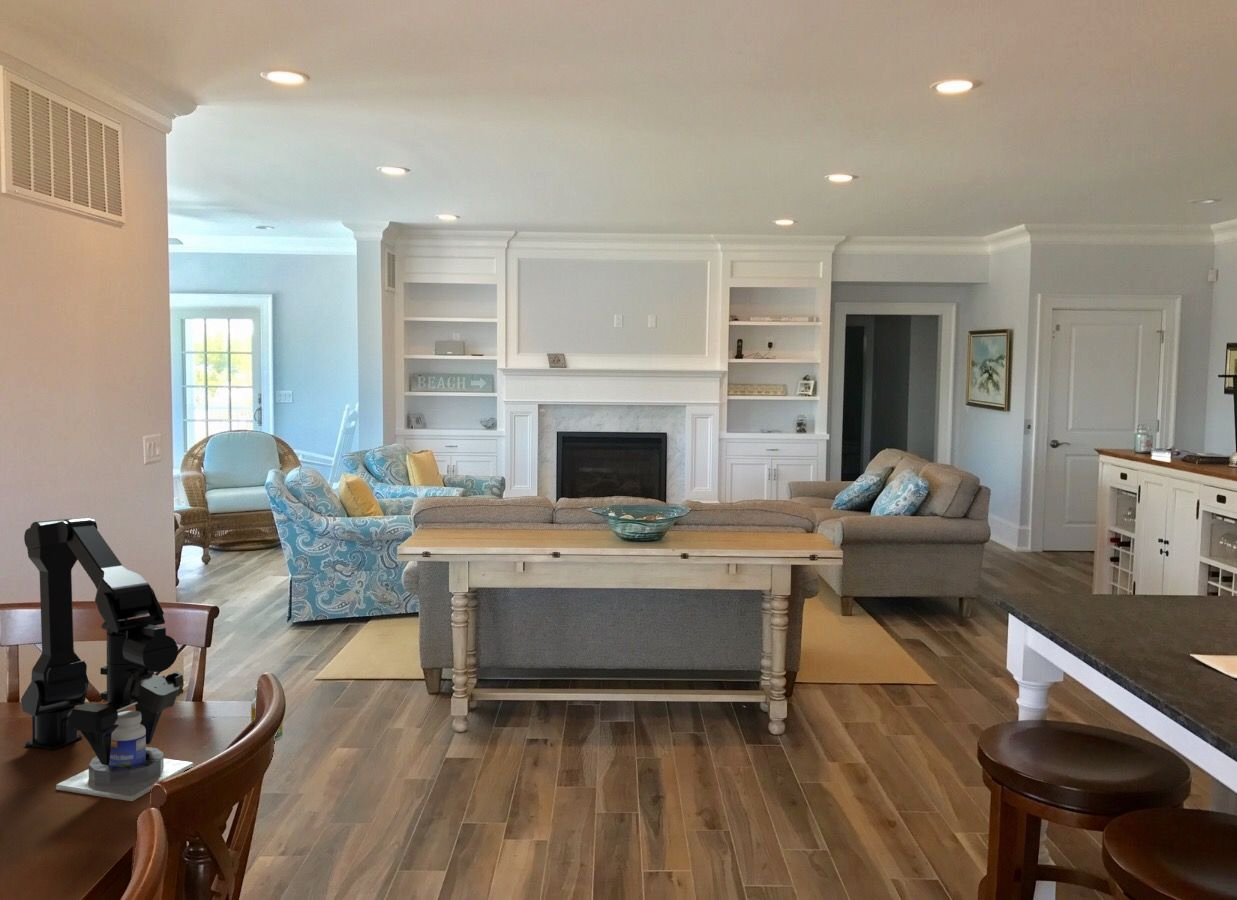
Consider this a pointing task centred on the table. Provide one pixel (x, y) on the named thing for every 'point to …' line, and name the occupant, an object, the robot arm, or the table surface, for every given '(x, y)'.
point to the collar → (124, 777)
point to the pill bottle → (128, 740)
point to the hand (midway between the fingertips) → (126, 753)
